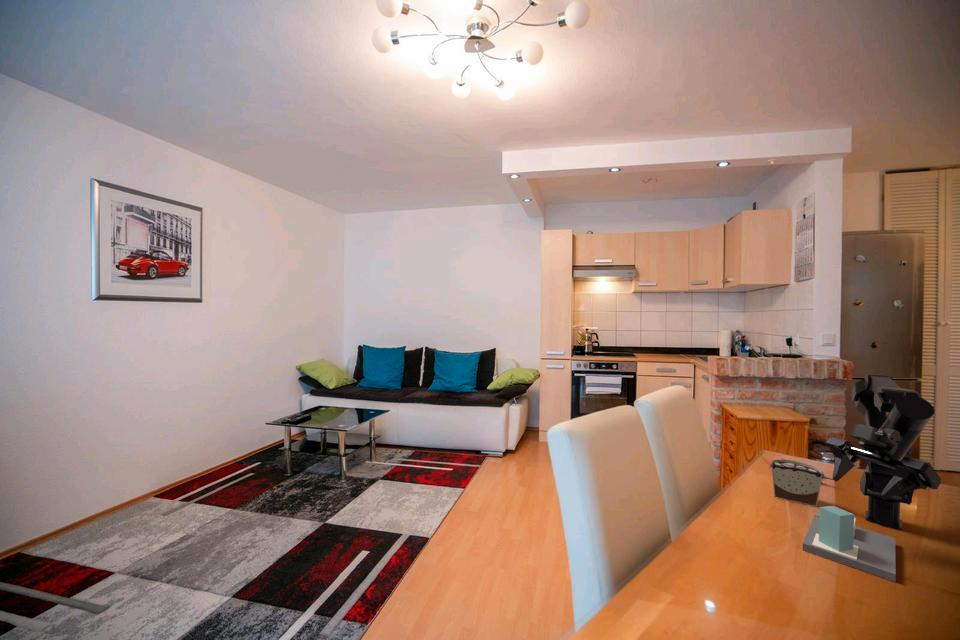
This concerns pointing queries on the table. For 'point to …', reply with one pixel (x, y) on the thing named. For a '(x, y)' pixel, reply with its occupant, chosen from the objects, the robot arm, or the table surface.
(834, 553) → the building board
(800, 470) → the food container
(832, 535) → the pillar
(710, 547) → the table surface
